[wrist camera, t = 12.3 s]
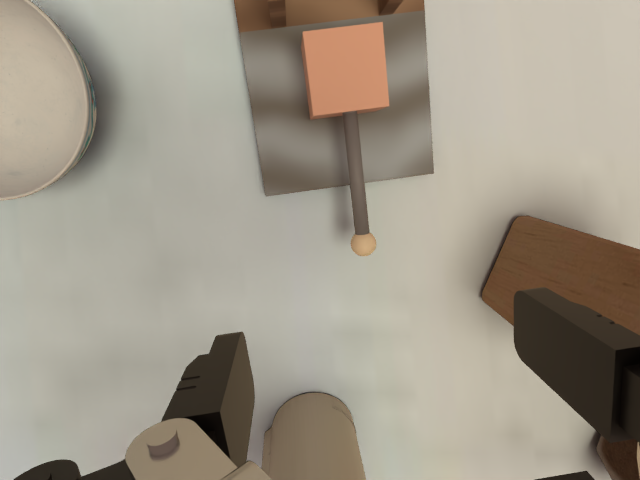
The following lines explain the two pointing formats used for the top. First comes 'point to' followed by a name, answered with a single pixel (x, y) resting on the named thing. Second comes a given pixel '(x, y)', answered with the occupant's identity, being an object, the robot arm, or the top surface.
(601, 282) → the block
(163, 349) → the top surface
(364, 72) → the cord block
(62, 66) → the chinaware
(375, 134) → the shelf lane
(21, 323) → the top surface
